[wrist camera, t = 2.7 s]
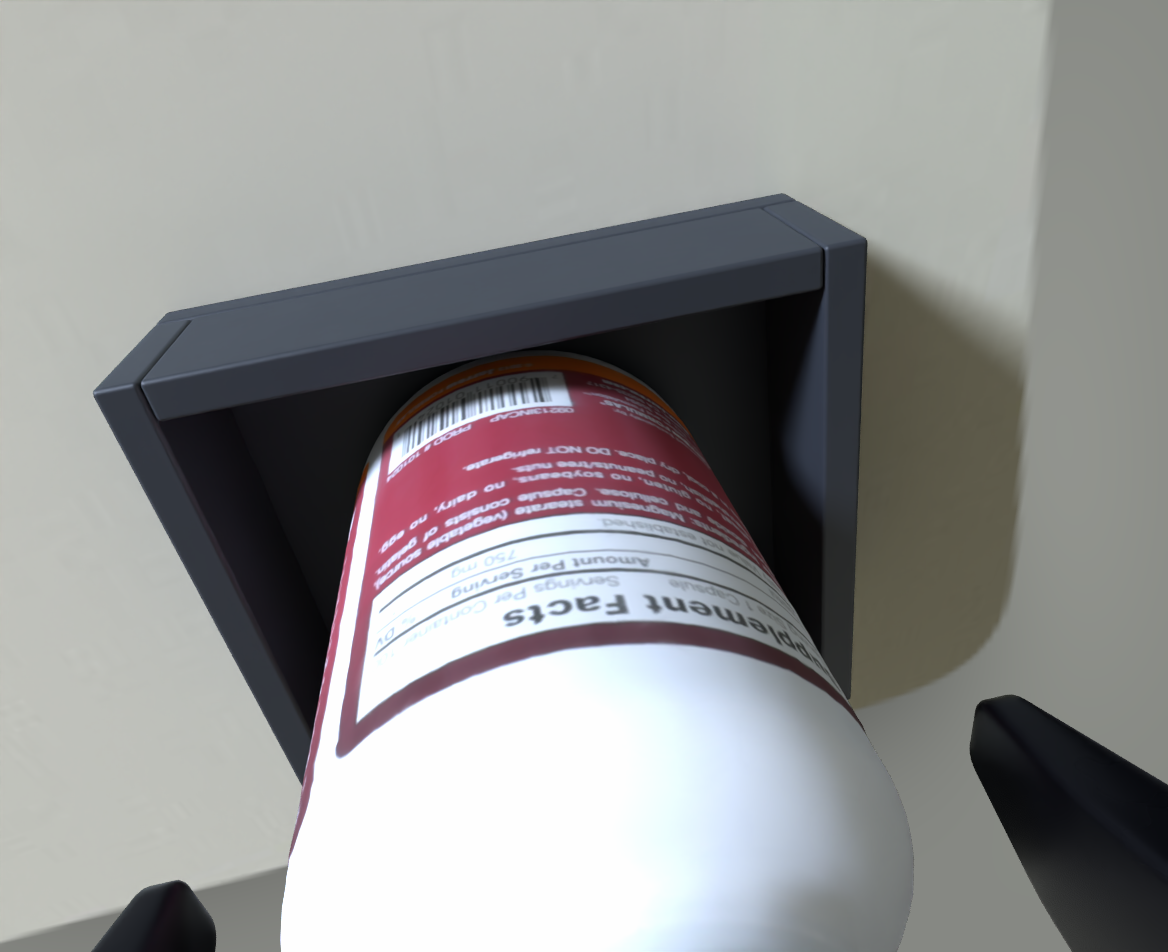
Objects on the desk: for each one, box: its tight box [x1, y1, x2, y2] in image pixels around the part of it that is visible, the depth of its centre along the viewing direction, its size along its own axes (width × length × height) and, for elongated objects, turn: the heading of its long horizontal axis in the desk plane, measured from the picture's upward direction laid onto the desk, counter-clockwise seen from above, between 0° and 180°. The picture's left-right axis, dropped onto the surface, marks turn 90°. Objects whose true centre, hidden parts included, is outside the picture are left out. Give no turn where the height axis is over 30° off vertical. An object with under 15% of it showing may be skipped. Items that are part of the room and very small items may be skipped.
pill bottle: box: [281, 350, 914, 952], centre depth 10 cm, size 6×6×11 cm
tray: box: [93, 193, 867, 786], centre depth 14 cm, size 10×9×3 cm
